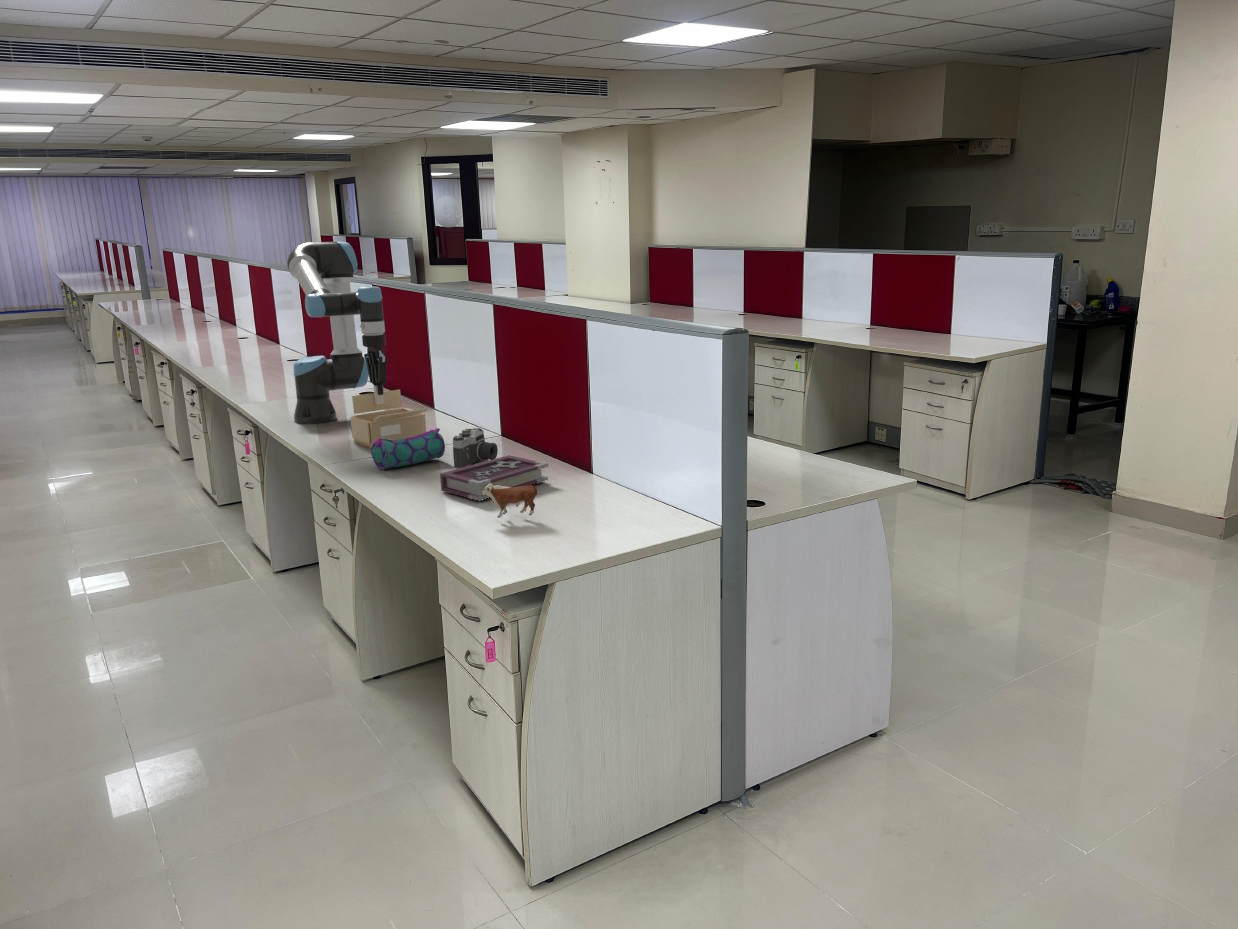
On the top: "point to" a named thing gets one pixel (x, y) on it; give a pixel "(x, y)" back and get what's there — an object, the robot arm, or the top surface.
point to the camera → (472, 448)
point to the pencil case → (408, 450)
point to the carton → (386, 427)
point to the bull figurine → (511, 496)
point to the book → (492, 476)
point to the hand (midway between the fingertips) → (380, 403)
